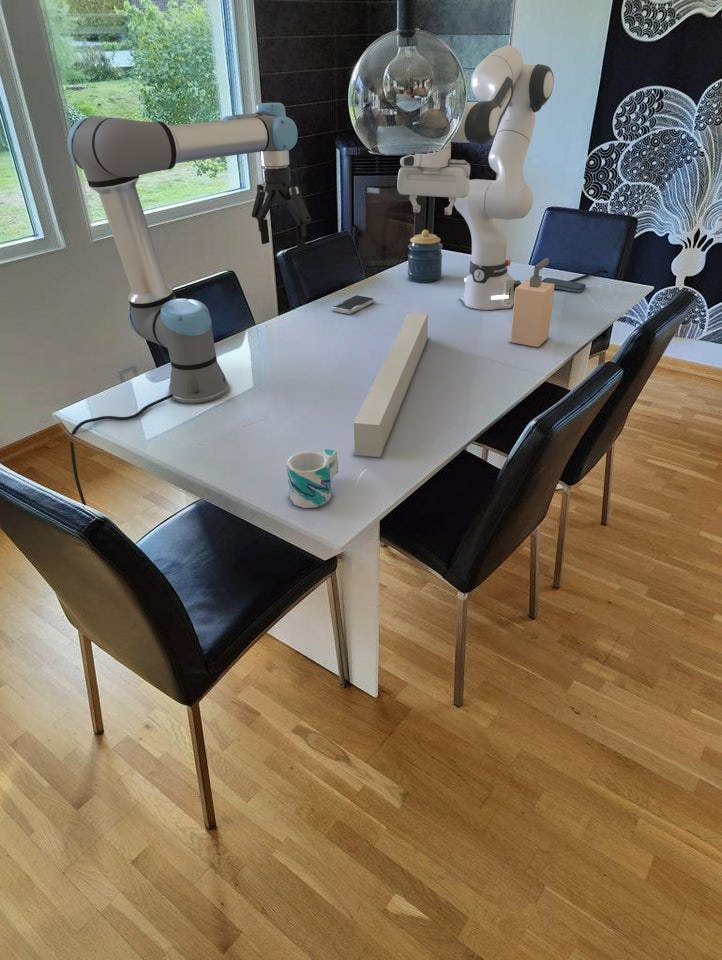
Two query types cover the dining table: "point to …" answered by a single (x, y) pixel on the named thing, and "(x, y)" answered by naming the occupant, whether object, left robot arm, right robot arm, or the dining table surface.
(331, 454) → the mug
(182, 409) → the dining table surface
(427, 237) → the canister
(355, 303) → the smartphone
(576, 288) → the smartphone
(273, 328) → the dining table surface
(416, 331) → the bar
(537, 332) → the soap dispenser
